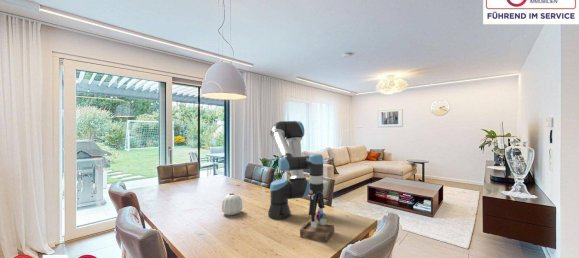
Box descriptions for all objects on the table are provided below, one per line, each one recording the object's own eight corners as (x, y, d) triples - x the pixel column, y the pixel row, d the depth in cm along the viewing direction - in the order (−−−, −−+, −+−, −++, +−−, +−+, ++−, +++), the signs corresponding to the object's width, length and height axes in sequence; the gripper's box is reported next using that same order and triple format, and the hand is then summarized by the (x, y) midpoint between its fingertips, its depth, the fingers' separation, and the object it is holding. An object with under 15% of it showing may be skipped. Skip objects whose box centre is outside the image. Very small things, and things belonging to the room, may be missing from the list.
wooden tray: (300, 236, 126) (299, 229, 126) (309, 227, 138) (309, 220, 138) (326, 242, 119) (326, 234, 119) (334, 232, 131) (334, 224, 131)
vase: (217, 215, 160) (217, 195, 159) (230, 208, 172) (229, 190, 172) (234, 218, 154) (234, 197, 154) (246, 211, 167) (245, 192, 167)
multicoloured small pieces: (307, 221, 132) (307, 208, 132) (324, 220, 133) (324, 207, 133) (310, 227, 124) (310, 214, 124) (328, 226, 124) (328, 213, 124)
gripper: (315, 188, 116) (316, 232, 116) (329, 179, 137) (330, 217, 137) (301, 186, 120) (302, 230, 120) (317, 178, 140) (318, 215, 140)
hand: (317, 223), depth 128 cm, fingers closed on multicoloured small pieces, 10 cm apart
